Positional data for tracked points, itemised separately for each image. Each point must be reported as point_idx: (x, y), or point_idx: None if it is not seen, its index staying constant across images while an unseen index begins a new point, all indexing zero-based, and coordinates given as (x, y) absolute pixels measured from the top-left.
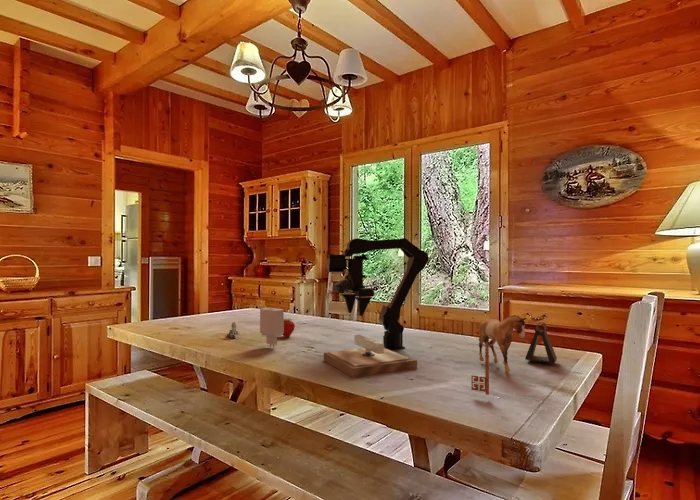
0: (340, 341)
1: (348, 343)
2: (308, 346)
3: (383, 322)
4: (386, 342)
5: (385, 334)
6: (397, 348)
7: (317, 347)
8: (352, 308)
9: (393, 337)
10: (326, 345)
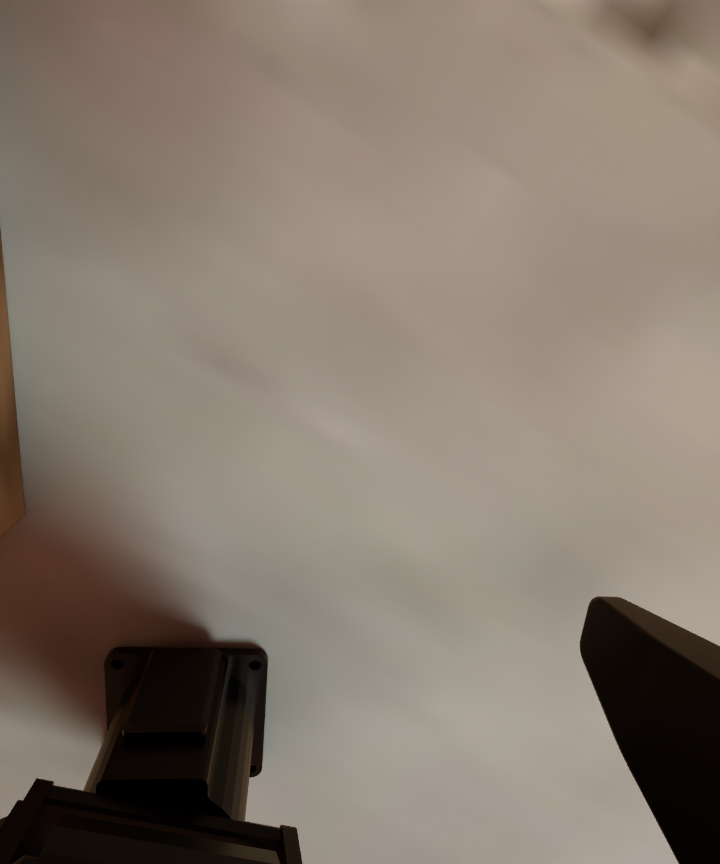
0: (684, 449)
1: (562, 471)
2: (717, 11)
3: (22, 857)
4: (146, 679)
5: (178, 751)
6: (107, 710)
7: (608, 83)
8: (623, 751)
9: (93, 772)
10: (627, 230)
